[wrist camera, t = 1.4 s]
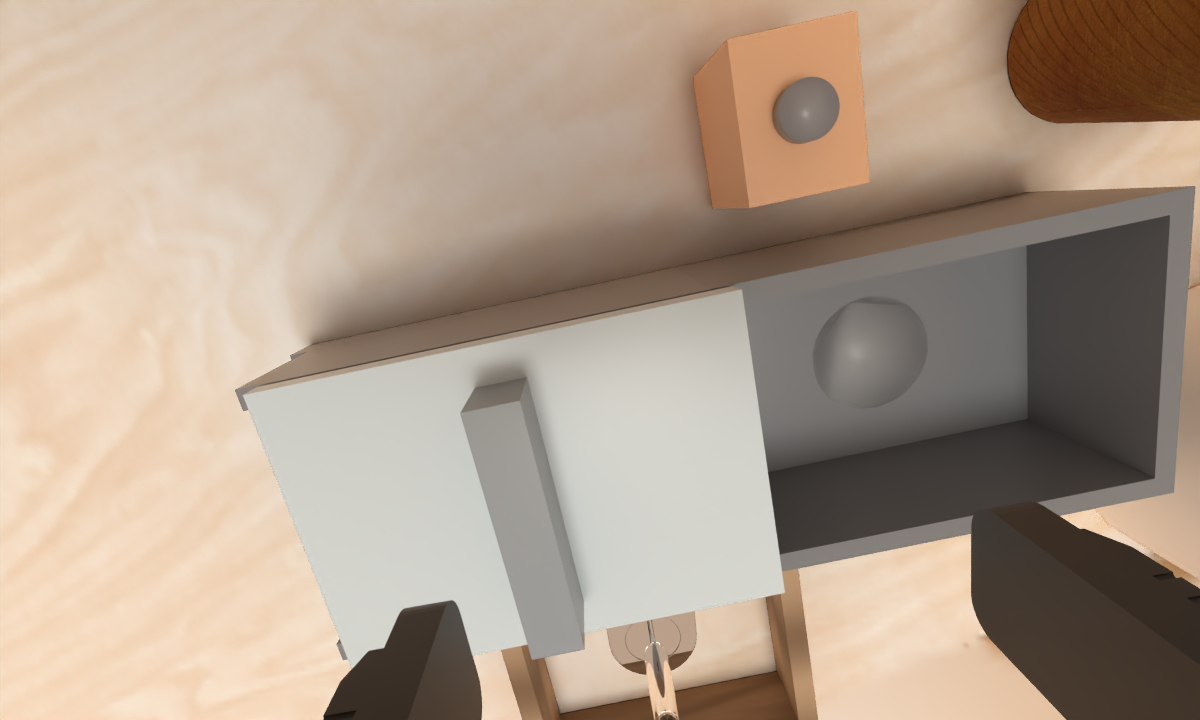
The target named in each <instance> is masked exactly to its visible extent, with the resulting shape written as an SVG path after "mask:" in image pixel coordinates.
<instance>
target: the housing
mask: <svg viewBox="0 0 1200 720" xmlns="http://www.w3.org/2000/svg"><path fill="white" fill-rule="evenodd" d="M1194 196H1195V186H1189V187H1160V188H1131V189H1103V190H1074V191H1045V192H1025V193H1021V194H1016V195H1011V196H1006V197H1002V198H997V199H992V200H988V201H983V202H978V203H974V204H969V205H964V206H960V207H955V208H950V209H946V210H941V211H936V212H931V213H927V214H922V215H917V216H913V217H908V218H903V219H899V220H894V221H889V222H885V223H880V224H875V225H871V226H866V227H861V228H856V229H852V230H847V231H842V232H838V233H833V234H828V235H824V236H819V237H814V238H810V239H805V240H800V241H796V242H791V243H786V244H781V245H777V246H772V247H767V248H763V249H758V250H753V251H749V252H744V253H739V254H735V255H730V256H725V257H721V258H716V259H711V260H706V261H702V262H697V263H692V264H688V265H683V266H678V267H674V268H669V269H664V270H660V271H655V272H650V273H646V274H641V275H636V276H631V277H627V278H622V279H617V280H613V281H608V282H603V283H599V284H594V285H589V286H585V287H580V288H575V289H571V290H566V291H561V292H556V293H552V294H547V295H542V296H538V297H533V298H528V299H524V300H519V301H514V302H510V303H505V304H500V305H496V306H491V307H486V308H482V309H477V310H472V311H467V312H463V313H458V314H453V315H449V316H444V317H439V318H435V319H430V320H425V321H421V322H416V323H411V324H407V325H402V326H397V327H392V328H388V329H383V330H378V331H374V332H369V333H364V334H360V335H355V336H350V337H346V338H341V339H336V340H332V341H327V342H322V343H317V344H313V345H310V346H308V347H306V348H304V349H302V350H300V351H298V352H296V353H294V354H292V355H290V357H291V359H292V360H291V361H289V362H287V363H285V364H283V365H281V366H280V367H278V368H276V369H274V370H272V371H270V372H268V373H266V374H264V375H263V376H261V377H259V378H257V379H255V380H253V381H251V382H249V383H247V384H246V385H244V386H242V387H240V388H238V389H236V390H235V392H236V394H237V397H238V399H239V402H240V404H241V407H242V409H243V411H246V410H248V407H247V405H246V402H245V400H244V397H243V395H244V394H246V393H248V392H249V391H251V390H253V389H255V388H257V387H260V386H264V385H269V384H274V383H278V382H283V381H288V380H293V379H297V378H302V377H307V376H311V375H316V374H321V373H326V372H330V371H335V370H340V369H344V368H349V367H354V366H359V365H363V364H368V363H373V362H377V361H382V360H387V359H392V358H396V357H401V356H406V355H410V354H415V353H420V352H425V351H429V350H434V349H439V348H443V347H448V346H453V345H458V344H462V343H467V342H472V341H476V340H481V339H486V338H490V337H495V336H500V335H505V334H509V333H514V332H519V331H523V330H528V329H533V328H538V327H542V326H547V325H552V324H556V323H561V322H566V321H571V320H575V319H580V318H585V317H589V316H594V315H599V314H604V313H608V312H613V311H618V310H622V309H627V308H632V307H637V306H641V305H646V304H651V303H655V302H660V301H665V300H670V299H674V298H679V297H684V296H688V295H693V294H698V293H703V292H707V291H712V290H717V289H721V288H726V287H731V286H736V287H738V288H740V289H742V293H743V300H744V307H745V314H746V321H747V328H748V336H749V343H750V350H751V357H752V364H753V371H754V378H755V385H756V392H757V399H758V406H759V413H760V420H761V427H762V434H763V441H764V448H765V455H766V462H767V469H768V476H769V483H770V491H771V498H772V505H773V512H774V519H775V526H776V533H777V540H778V547H779V554H780V561H781V568H782V572H783V571H788V570H793V569H798V568H803V567H808V566H813V565H818V564H823V563H828V562H832V561H837V560H842V559H847V558H852V557H857V556H862V555H867V554H872V553H877V552H882V551H887V550H892V549H897V548H902V547H907V546H912V545H917V544H922V543H927V542H932V541H937V540H942V539H947V538H952V537H956V536H961V535H966V534H971V524H972V518H973V516H974V514H975V513H976V511H978V510H981V509H987V508H993V507H998V506H1004V505H1010V504H1016V503H1021V502H1027V501H1033V502H1036V503H1039V504H1041V505H1043V506H1044V507H1046V508H1048V509H1049V510H1051V511H1052V512H1054V513H1055V514H1057V515H1058V516H1061V515H1066V514H1071V513H1076V512H1081V511H1085V510H1090V509H1095V508H1100V507H1105V506H1110V505H1115V504H1120V503H1125V502H1130V501H1135V500H1140V499H1145V498H1150V497H1155V496H1160V495H1165V494H1170V493H1174V486H1175V472H1176V457H1177V443H1178V428H1179V414H1180V399H1181V385H1182V370H1183V356H1184V341H1185V327H1186V312H1187V298H1188V283H1189V269H1190V254H1191V240H1192V225H1193V211H1194ZM337 646H338V649H339V651H340V654H341V656H342V659H343V660H346V659H348V658H347V656H346V653H345V651H344V648H343V646H342V643H341V641H340V639H339V641H338V643H337Z"/></svg>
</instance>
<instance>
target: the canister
mask: <svg viewBox="0 0 1200 720" xmlns="http://www.w3.org/2000/svg"><path fill="white" fill-rule="evenodd" d="M1096 509H1097V511H1098V512H1099V514H1100V515H1101V516H1102V518H1103V519H1104V520H1105V522H1106V523H1107V524H1108V525H1109V526H1111V527H1113V528H1114V529H1116V530H1118V531H1119V532H1121V533H1123V534H1124V535H1126V536H1128V537H1129V538H1131V539H1133V540H1134V541H1136V542H1138V543H1139V544H1141V545H1143V546H1144V547H1146V548H1148V549H1149V550H1151V551H1153V552H1154V553H1156V554H1158V555H1159V556H1161V557H1163V558H1164V559H1166V560H1168V561H1169V562H1171V563H1173V564H1174V565H1176V566H1178V567H1179V568H1181V569H1183V570H1184V571H1186V572H1188V573H1189V574H1191V575H1193V576H1194V577H1196V578H1198V579H1199V580H1200V285H1197V286H1195V287H1192V288H1190V289H1188V298H1187V312H1186V327H1185V341H1184V356H1183V370H1182V385H1181V399H1180V414H1179V428H1178V443H1177V457H1176V472H1175V486H1174V493H1170V494H1165V495H1160V496H1155V497H1150V498H1145V499H1140V500H1135V501H1130V502H1125V503H1120V504H1115V505H1110V506H1105V507H1100V508H1096Z"/></svg>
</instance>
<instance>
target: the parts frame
mask: <svg viewBox="0 0 1200 720" xmlns="http://www.w3.org/2000/svg"><path fill="white" fill-rule="evenodd" d="M782 575H783V582H784V589H785V593H782V594H777V595H772V596H767V597H766V603H767V609H768V616H769V623H770V629H771V636H772V642H773V649H774V655H775V662H776V668H777V672H772V673H767V674H762V675H757V676H752V677H747V678H742V679H736V680H731V681H726V682H721V683H716V684H711V685H706V686H701V687H696V688H691V689H686V690H681V691H676V692H675V696H676V701H677V706H678V711H679V716H680V720H818V716H817V708H816V701H815V693H814V685H813V678H812V670H811V663H810V655H809V648H808V640H807V633H806V625H805V618H804V610H803V603H802V595H801V588H800V580H799V573H798V569H793V570H788V571H783V572H782ZM501 652H502V655H503V658H504V661H505V665H506V668H507V671H508V674H509V678H510V681H511V684H512V687H513V691H514V694H515V697H516V700H517V704H518V707H519V710H520V713H521V717H522V720H653V716H652V709H651V702H650V697H646V698H641V699H635V700H630V701H625V702H620V703H615V704H610V705H605V706H600V707H595V708H590V709H585V710H580V711H575V712H570V713H565V714H560V712H559V709H558V705H557V702H556V698H555V695H554V691H553V688H552V684H551V681H550V677H549V674H548V670H547V667H546V663H545V660H544V658H539V659H534V660H532V658H531V655H530V651H529V648H528V645H523V646H518V647H513V648H508V649H503V650H501Z"/></svg>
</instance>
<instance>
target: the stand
mask: <svg viewBox="0 0 1200 720" xmlns="http://www.w3.org/2000/svg"><path fill="white" fill-rule="evenodd" d="M607 632H608V639H609V645H610V649H611V652H612V654H613V656H614V658H615V659H616V660H617V661H618V662H619V663H620V664H621V665H622V666H623V667H625V668H626V669H628V670H630V671H632V672H635V673H639V674H645V675H647V681H648V688H649V695H650V702H651V709H652V716H653V720H680V716H679V711H678V706H677V701H676V696H675V690H674V685H673V680H672V675H671V670H674V669H675V668H677V667H679V666H680V665H682V664H683V663H684V662H685V661H686V660H687V659H688V658H689V656H690V655H691V654H692V652H693V650H694V648H695V644H696V635H697V633H696V623H695V612H694V611H692V612H687V613H682V614H677V615H672V616H667V617H662V618H657V619H653V620H648V621H643V622H638V623H633V624H628V625H623V626H618V627H613V628H608V629H607Z"/></svg>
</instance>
